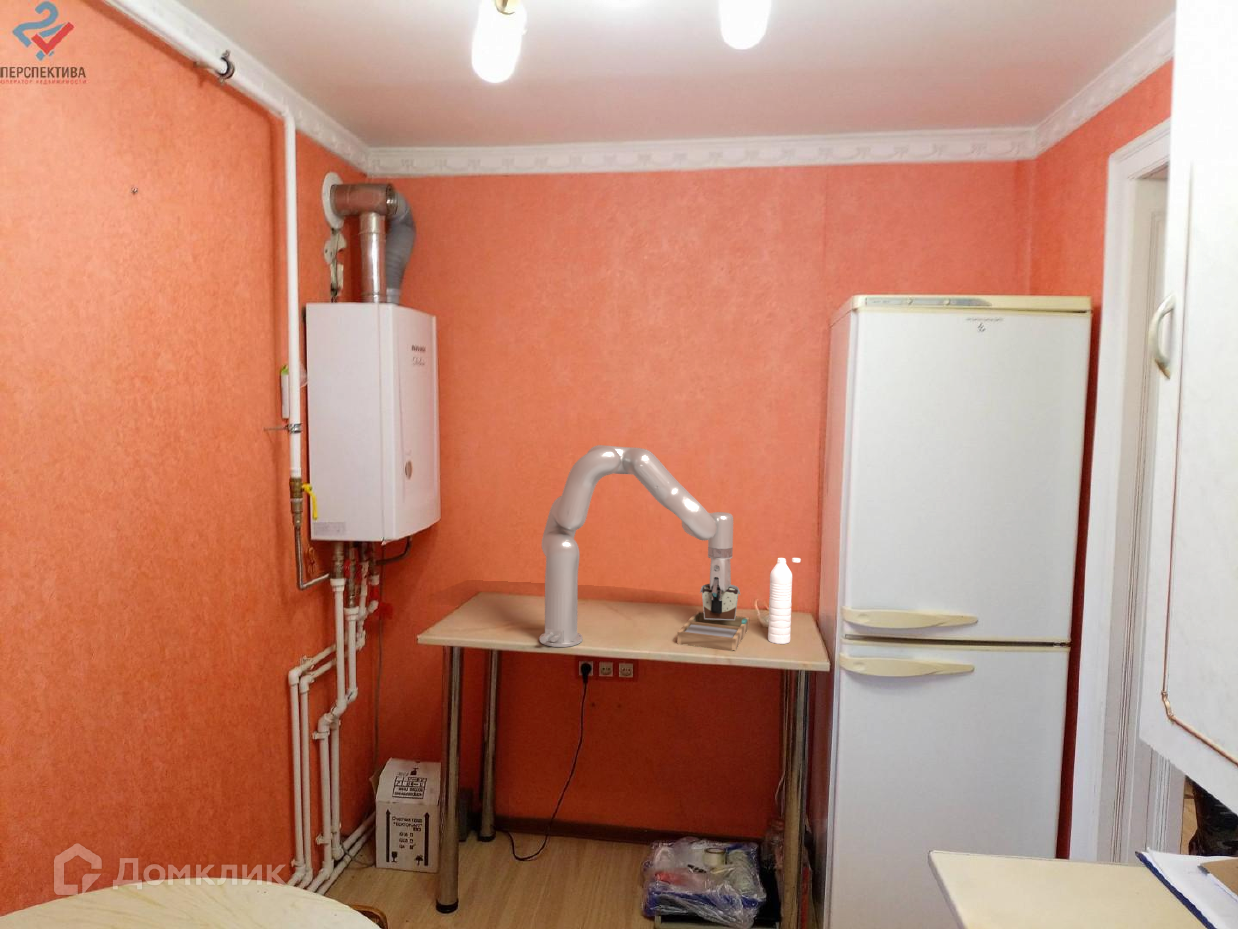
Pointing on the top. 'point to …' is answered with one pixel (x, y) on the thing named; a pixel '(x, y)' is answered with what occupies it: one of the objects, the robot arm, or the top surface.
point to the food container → (728, 603)
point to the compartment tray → (713, 632)
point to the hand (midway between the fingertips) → (718, 609)
